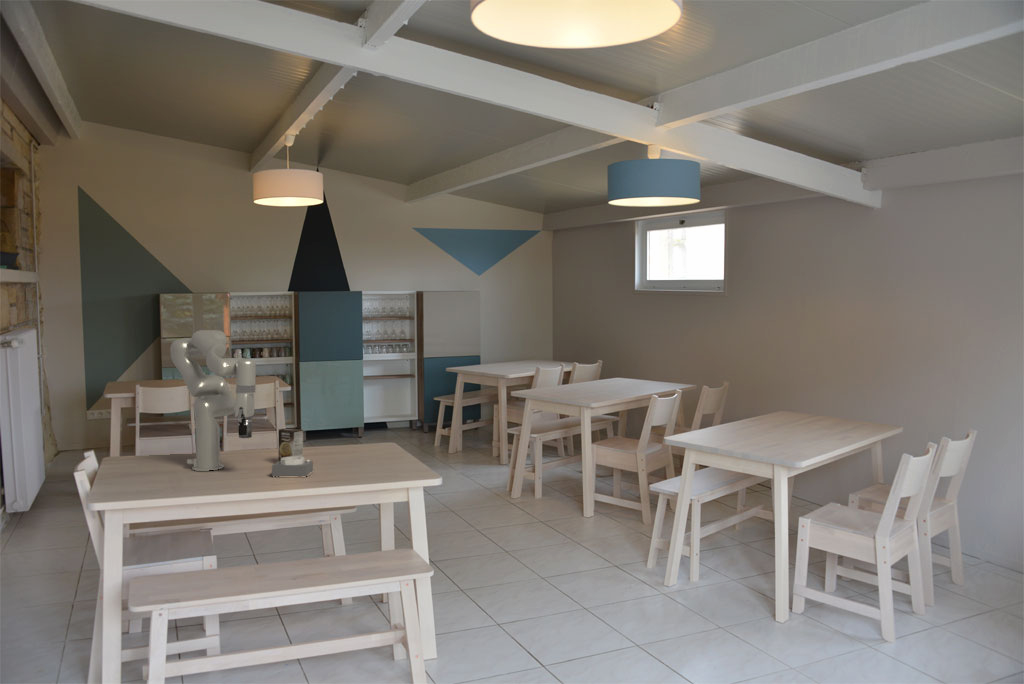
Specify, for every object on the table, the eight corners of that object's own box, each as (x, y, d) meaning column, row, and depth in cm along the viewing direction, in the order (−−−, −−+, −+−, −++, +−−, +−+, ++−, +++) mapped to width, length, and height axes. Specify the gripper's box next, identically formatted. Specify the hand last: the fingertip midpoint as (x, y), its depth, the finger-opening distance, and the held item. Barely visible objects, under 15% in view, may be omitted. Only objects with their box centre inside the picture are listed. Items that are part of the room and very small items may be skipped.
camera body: (272, 477, 310) (272, 460, 309) (279, 472, 320) (279, 456, 319) (306, 477, 310) (306, 460, 309) (312, 472, 320) (312, 456, 319)
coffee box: (277, 465, 335) (277, 429, 334) (288, 463, 341) (288, 427, 340) (293, 467, 331) (293, 430, 330) (303, 465, 336) (303, 429, 336)
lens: (236, 438, 308) (236, 418, 308) (241, 435, 313) (241, 416, 313) (249, 438, 308) (249, 418, 308) (253, 436, 313) (254, 416, 313)
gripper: (243, 387, 318) (243, 430, 319) (228, 391, 301) (228, 437, 302) (261, 387, 318) (261, 430, 319) (247, 392, 301) (247, 437, 302)
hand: (245, 433), depth 310 cm, fingers closed on lens, 5 cm apart
